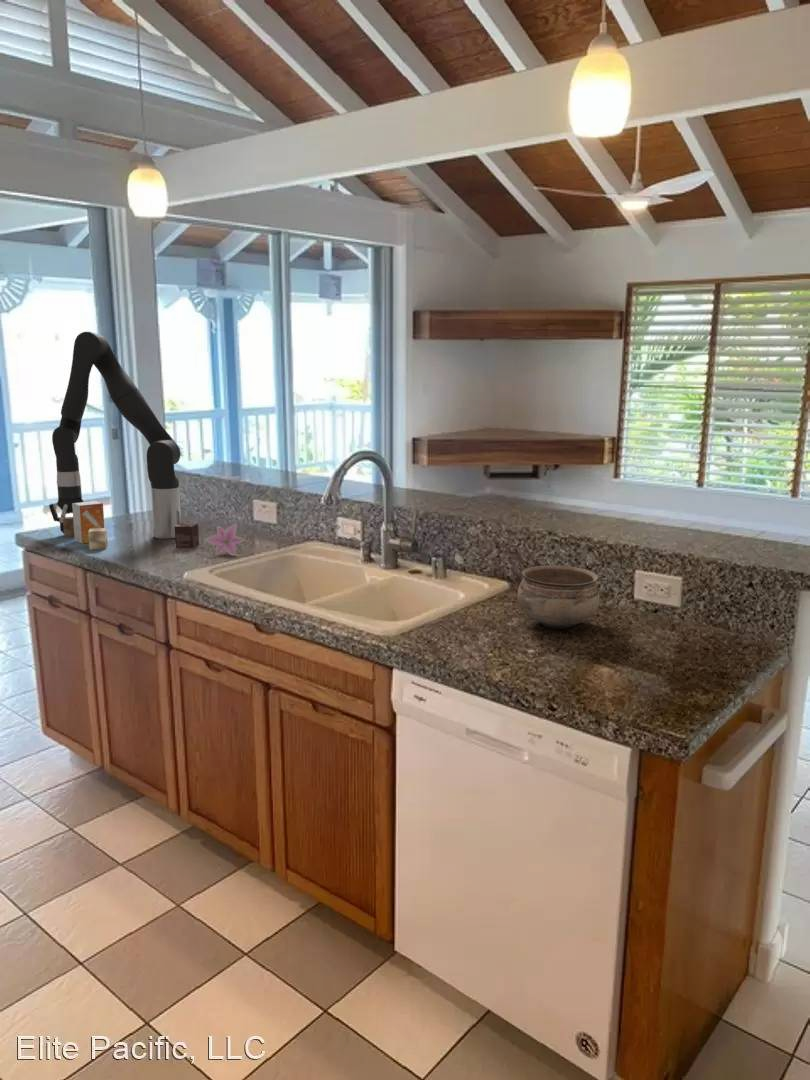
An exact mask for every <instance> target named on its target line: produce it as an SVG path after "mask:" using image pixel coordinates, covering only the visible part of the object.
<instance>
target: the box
mask: <svg viewBox="0 0 810 1080" xmlns="http://www.w3.org/2000/svg"><path fill="white" fill-rule="evenodd" d="M199 532H200V531H199V523H197V522H196V523H195V522H193V523H192V522H181V523H180V524H178V525H176V526H175V538H174V539H175V541H174V542H175V548H176V549H177V548H178V549H179V548H180V549H182V548H183V549H184V548H185V549H194V548H196V547H197V546H198V545H200V536H199V535H200V533H199Z"/></svg>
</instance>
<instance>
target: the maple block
mask: <svg viewBox="0 0 810 1080" xmlns="http://www.w3.org/2000/svg"><path fill="white" fill-rule="evenodd" d="M107 532H108V530H107V528H106V527H104V528H93V529H90V530H89V531H88V536H89V543H88V545H89V546H88V548H89V549H90V550H91V551H92V549H97V550H106V549H108V546H109V545H108V533H107Z"/></svg>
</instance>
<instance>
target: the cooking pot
mask: <svg viewBox="0 0 810 1080" xmlns="http://www.w3.org/2000/svg"><path fill="white" fill-rule="evenodd" d="M521 576H522V577H523V578H522V580H521V581H520V583H519V586H518V588H517V602H518V604H519V606H520V608H521V610H522V612H523V613H525V615H527V616H528V617H529V618H530V619H533V620H534V621H536V622H537V623H539V624H541V625H543V626H544V627H545V628H548V629H552V630H553V629H554V630H565V629H570V628H571V627H573V626H576V625H578V624H580V623H583V622H584V621H587V620H588V619H590V618H591V617H593V615H595V613H596V612H597V610H598V608H599V605H600V601H601V599H600V598H601V597H600V593H599V592H600V591H599V588H598V585H597V583H596V581H597V580H598V578H599V576H598V575H597V573H595V572H593V571H591V570H588V569H584V568H580V567H575V566H568V565H567V566H566V565H553V564H551V565H550V564H549V565H547V564H545V565H537V566H536V565H535V566H531V567H527V568H524V569H523V570H522V571H521Z"/></svg>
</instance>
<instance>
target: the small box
mask: <svg viewBox="0 0 810 1080" xmlns="http://www.w3.org/2000/svg"><path fill="white" fill-rule="evenodd" d="M72 508H73V513H72V517H73V523H74V536H75V537H74V541H75V542H76V543H79V544H82V545H83V544H89V536H88V531H89V530H90V529H93V528H105V516H104V515H105V514H104V503H103V502H100V501H97V500H90V501H84V502H80V503H72Z"/></svg>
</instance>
